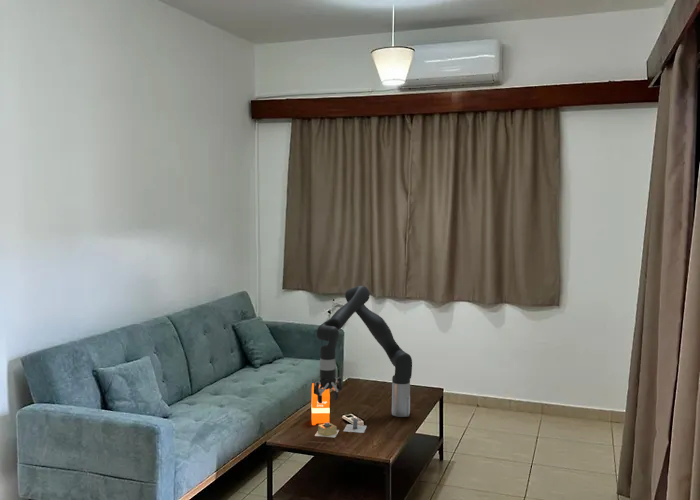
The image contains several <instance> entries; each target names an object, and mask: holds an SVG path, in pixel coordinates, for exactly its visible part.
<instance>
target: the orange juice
mask: <svg viewBox="0 0 700 500" xmlns="http://www.w3.org/2000/svg"><path fill="white" fill-rule="evenodd" d="M319 387H320V386H319ZM322 389H323V388H322ZM317 399H318V398H317V395H316V394H314V382H312V384H311V426H316V425H317V424H325V423H326V422H328V423H330V414H331V413H330V412H331V411H330V405H331V403H330V400H331V395H330V389H327V390H326V389H325V391H324V392H323V393H322V403H319V402H318V401H317Z"/></svg>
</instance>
